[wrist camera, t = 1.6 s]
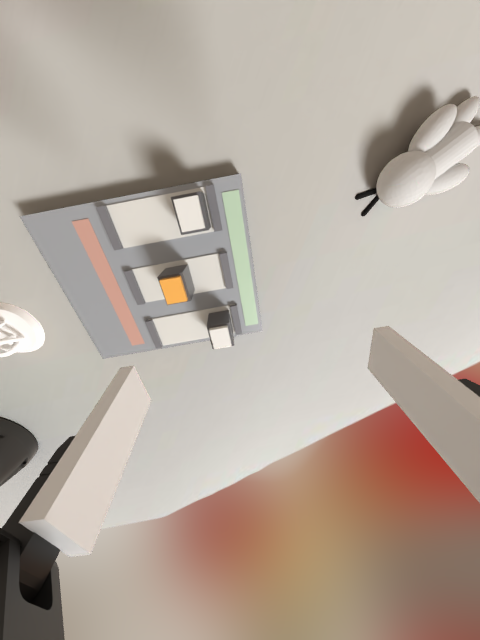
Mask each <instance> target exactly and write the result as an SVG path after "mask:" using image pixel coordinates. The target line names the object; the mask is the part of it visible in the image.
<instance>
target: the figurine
mask: <svg viewBox="0 0 480 640" xmlns="http://www.w3.org/2000/svg"><path fill="white" fill-rule="evenodd" d="M44 340H45V334H44V330H43V328H42V326H41V324H40V323H39V322H38V320H37V319H36V318H35V317H34V316H32V315H31V314H30V313H29V312H27V311H25V310H24V309H22V308H20V307H17V306H15V305H11V304H7V303H0V348H1V349H3V350H6V352H4V353H0V357H6V356H9V355H11V354H13V353H15V352H16V353H20V352H31V351H35V350H37V349H39V348H40V347H41V346H42V345H43V343H44Z"/></svg>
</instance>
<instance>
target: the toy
mask: <svg viewBox="0 0 480 640" xmlns="http://www.w3.org/2000/svg"><path fill="white" fill-rule="evenodd" d="M479 105H480V99H479V97H477V96H474V97H471V98H468V99H467V100H465V101H464V102H462V103H461V104H460V105H458V106H457V107H456V105H454V104H447V105H445V106H442V107H441V108H439V109H438V110H436V111H435V112H434V113H433V114H431V115H430V116H429V117H428V118H427V119H426V120H425V122H424V123H423V124H422V125H421V126H420V128H419V129H418V130H417V132H416V133H415V135H414V137H413V138H412V140H411V143H410V145H409V148H408V152H405V153H402V154H400V155H398V156H397V157H395V158H394V159H392V160H391V161H390V162H389V163H388V164H387V165H386V166H385V167H384V168H383V170H382V171H381V173H380V175H379V177H378V180H377V186H376V188H374V189H371V190H368V191H366V192H363V193H360V194H357V195H356V197H355V199H356V200H358V199H361V198H364V197H367V196H369V195H372V194H375V193H377V196H376V197H375V198H374V199H373V200H372V202H371V203H370V204H369V205H368V206H367V208H366V209H365V210H364V211H363V212H362V214H361V216H365V215H366V214H367V213H368V212H369V210H370V209H371V208H372V207H373V206H374V205H375V203H376V202H377V201H378V200H379V199H380V200H381V201H382V202H383V203H384V204H385V205H387V206H390V207H395V208H397V207H405V206H408V205H411V204H413V203H415V202H416V201H418V200H419V199H421V198H422V197H423V196H424V195H434V194H439V193H442V192H445V191H447V190H450V189H452V188H453V187H455V186H457V185H458V184H460V183H461V182H462V181H463V180H464V179H465V178H466V177H467V176H468V174H469V171H470V168H469V166H468V165H466V164H462V163H458V162H459V161H460V160H462V159H463V158H464V157H466V156H467V155H468V154H470V153H471V152H472V151H473V150H474V149H475V148H476V147H477V146H479V145H480V126H476V127H474V126H473V125H472V124H471V123H470V122H471V121H472V119H473V118H474V116H475V115H476V113H477V111H478V108H479ZM456 163H458V164H456Z"/></svg>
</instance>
